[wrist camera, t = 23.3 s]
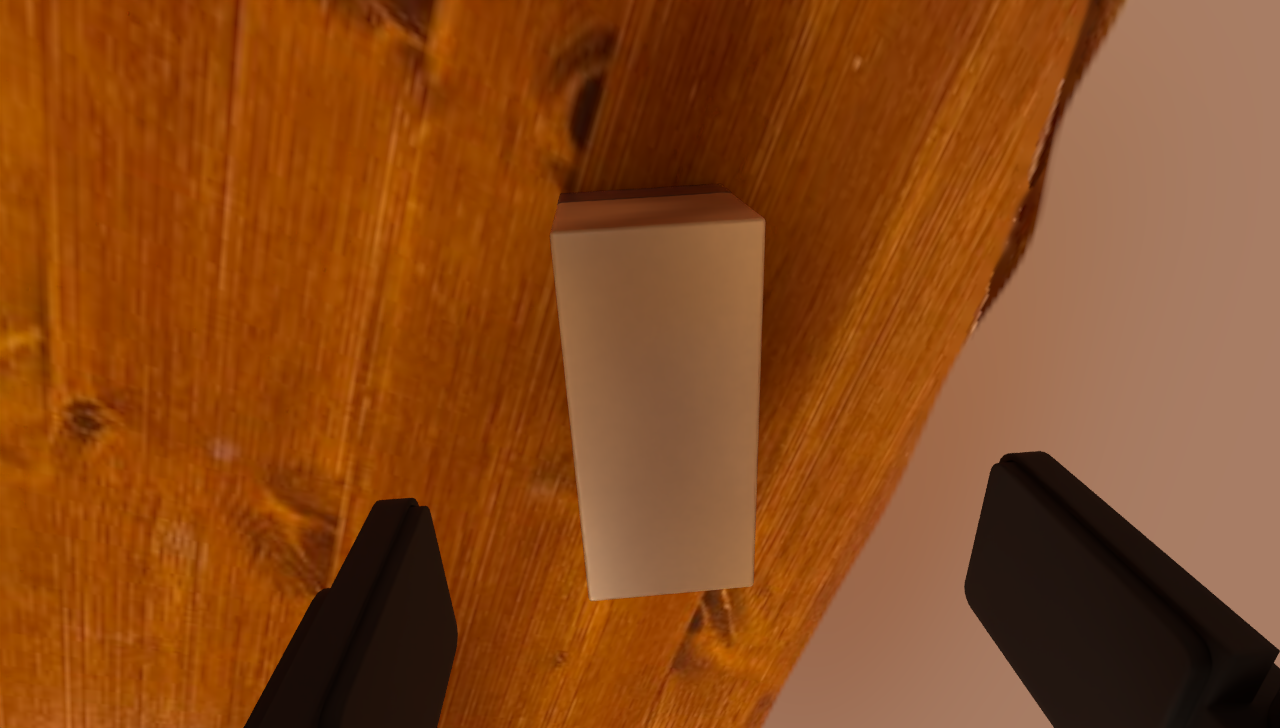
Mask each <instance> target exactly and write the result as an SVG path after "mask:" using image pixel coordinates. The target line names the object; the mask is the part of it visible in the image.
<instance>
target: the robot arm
mask: <svg viewBox="0 0 1280 728" xmlns="http://www.w3.org/2000/svg"><path fill="white" fill-rule="evenodd" d="M964 587H965V595H966V599H967V601H968V604H969V605H970V607H971V609H972V610H973V612H974V613H975V614H976V616H977V617H978V619H979V620H980V621H981V623H982V624H983V626H984V627H985V629H986V630H987V632H988V633H989V635H990V636H991V637H992V639H993V640H994V641H995V643H996V645H997V646H998V648H999V649H1000V651H1001V652H1002V653H1003V655H1004V656H1005V658H1006V659H1007V661H1008V662H1009V663H1010V665H1011V666H1012V668H1013V669H1014V671H1015V672H1016V673H1017V675H1018V676H1019V678H1020V679H1021V681H1022V682H1023V684H1024V685H1025V686H1026V688H1027V689H1028V691H1029V692H1030V694H1031V695H1032V697H1033V698H1034V699H1035V701H1036V702H1037V704H1038V705H1039V707H1040V708H1041V710H1042V711H1043V712H1044V714H1045V715H1046V717H1047V718H1048V719H1049V721H1050V722H1051V724H1052V725H1053V727H1054V728H1280V668H1279V667H1278V666H1276V665H1275V664H1274V661H1275V659H1276V657H1277V655H1278V654H1279V652H1280V651H1279V650H1278V649H1277V648H1276V647H1275V646H1274V645H1273V644H1271V643H1270V642H1269V641H1268V640H1267V639H1265V638H1264V637H1263V636H1262V635H1261V634H1260V633H1258V632H1257V631H1256V630H1255V629H1254V628H1253V627H1251V626H1250V625H1249V624H1248V623H1247V622H1245V621H1244V620H1243V619H1242V618H1241V617H1240V616H1238V615H1237V614H1236V613H1235V612H1234V611H1232V610H1231V609H1230V608H1229V607H1228V606H1227V605H1225V604H1224V603H1223V602H1222V601H1221V600H1219V599H1218V598H1217V597H1216V596H1215V595H1214V594H1212V593H1211V592H1210V591H1209V590H1208V589H1207V588H1206V587H1204V586H1203V585H1202V584H1201V583H1200V582H1198V581H1197V580H1196V579H1195V578H1194V577H1193V576H1191V575H1190V574H1189V573H1188V572H1187V571H1185V570H1184V569H1183V568H1182V567H1181V566H1180V565H1178V564H1177V563H1176V562H1175V561H1174V560H1173V559H1171V558H1170V557H1169V556H1168V555H1167V554H1166V553H1164V552H1163V551H1162V550H1161V549H1160V548H1158V547H1157V546H1156V545H1155V544H1154V543H1153V542H1151V541H1150V540H1149V539H1148V538H1146V536H1144V535H1143V534H1142V533H1141V532H1140V531H1138V530H1137V529H1136V528H1135V527H1134V526H1133V525H1131V524H1130V523H1129V522H1128V521H1127V520H1125V519H1124V518H1123V517H1122V516H1121V515H1120V514H1118V513H1117V512H1116V511H1115V510H1114V509H1113V508H1111V507H1110V506H1109V505H1108V504H1107V503H1106V502H1104V501H1103V500H1102V499H1101V498H1100V497H1099V496H1097V495H1096V494H1095V493H1094V492H1093V491H1091V490H1090V489H1089V488H1088V487H1087V486H1086V485H1084V484H1083V483H1082V482H1081V481H1080V480H1078V479H1077V478H1076V477H1075V476H1074V475H1073V474H1071V473H1070V472H1069V471H1068V470H1067V469H1066V468H1064V467H1063V466H1062V465H1061V464H1060V463H1059V462H1057V461H1056V460H1055V459H1054V458H1053V457H1051V456H1050V455H1049V454H1047V453H1045V452H1041V451H1037V452H1023V453H1010V454H1006V455H1004V456H1003V457H1002V458H1001V459H1000V462H999V463H997V464H994V465H993V467H992V468H991V471H990V476H989V480H988V484H987V488H986V493H985V497H984V502H983V506H982V510H981V515H980V519H979V523H978V527H977V532H976V536H975V540H974V545H973V549H972V554H971V558H970V562H969V567H968V571H967V575H966V580H965V586H964ZM457 636H458V633H457V624H456V620H455V615H454V611H453V607H452V602H451V598H450V594H449V590H448V585H447V581H446V577H445V573H444V568H443V564H442V560H441V555H440V551H439V547H438V543H437V538H436V534H435V530H434V526H433V521H432V517H431V513H430V510H429V508H428V507H427V506H419V505H418V502H417V501H416V499H414V498H403V499H390V500H379V501H377V502H376V503H375V504H374V505H373V507H372V509H371V511H370V513H369V515H368V517H367V519H366V521H365V523H364V525H363V526H362V528H361V530H360V532H359V534H358V536H357V538H356V540H355V542H354V544H353V546H352V548H351V550H350V552H349V554H348V555H347V557H346V559H345V561H344V563H343V565H342V567H341V569H340V571H339V573H338V575H337V577H336V579H335V581H334V583H333V584H332V586H331V588H327V589H323V590H321V591H320V592H318V593H317V595H316V596H315V598H314V599H313V600H312V602H311V604H310V606H309V608H308V609H307V611H306V613H305V615H304V617H303V619H302V621H301V622H300V624H299V626H298V628H297V630H296V632H295V634H294V635H293V637H292V639H291V641H290V643H289V645H288V647H287V648H286V650H285V652H284V654H283V656H282V658H281V659H280V661H279V663H278V665H277V667H276V669H275V671H274V672H273V674H272V676H271V678H270V680H269V682H268V684H267V685H266V687H265V689H264V691H263V693H262V695H261V697H260V698H259V700H258V702H257V704H256V706H255V708H254V710H253V711H252V713H251V715H250V717H249V719H248V721H247V723H246V724H245V726H244V728H437V726H438V722H439V718H440V714H441V709H442V705H443V701H444V697H445V693H446V689H447V685H448V681H449V677H450V673H451V669H452V665H453V660H454V656H455V652H456V647H457Z"/></svg>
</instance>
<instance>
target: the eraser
mask: <svg viewBox="0 0 1280 728" xmlns="http://www.w3.org/2000/svg"><path fill="white" fill-rule="evenodd" d="M557 205H558V206H557V210H556V214H555V217H554V221H553V225H552V229H551V233H550V242H551V252H552V261H553V270H554V280H555V289H556V298H557V307H558V317H559V326H560V335H561V345H562V354H563V363H564V373H565V382H566V391H567V400H568V410H569V419H570V428H571V438H572V447H573V456H574V466H575V475H576V484H577V494H578V503H579V512H580V521H581V531H582V540H583V549H584V559H585V568H586V577H587V587H588V596H589V599H590V601H598V600H609V599H620V598H630V597H641V596H652V595H663V594H674V593H685V592H696V591H707V590H718V589H728V588H739V587H750V586H753V583H754V554H755V524H756V494H757V464H758V434H759V404H760V374H761V344H762V314H763V284H764V253H765V223H766V221H765V219H764V218H763V217H762V216H761V215H759V214H758V213H757V212H755V211H754V210H753V209H751V208H750V207H749V206H747V205H746V204H745V203H744V202H742V201H741V200H740V199H738V198H737V197H736V196H734V195H733V194H732V193H731V192H730V191H729V190H728V189H726V188H725V187H724V186H722V185H721V184H708V185H692V186H675V187H659V188H643V189H626V190H610V191H593V192H577V193H561V194H560V196H559V200H558V204H557Z"/></svg>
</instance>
